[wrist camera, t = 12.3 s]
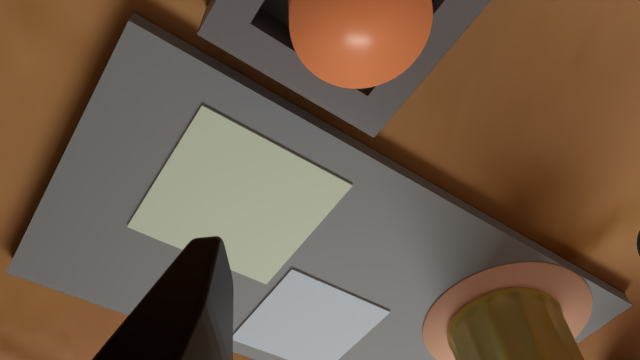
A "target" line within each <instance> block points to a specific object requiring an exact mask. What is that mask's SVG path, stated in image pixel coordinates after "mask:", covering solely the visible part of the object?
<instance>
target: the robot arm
mask: <svg viewBox="0 0 640 360" xmlns="http://www.w3.org/2000/svg"><path fill="white" fill-rule="evenodd" d="M637 249H638V253H639V256H640V231H639V234H638V237H637ZM233 298H234V289H233V278H232V273H231V269H230V265H229V261H228V257H227V253H226V249H225V245H224V242H223V240H222V238H220V237H219V236H211V237H201V238H195V239H193V240H191V241H190V242H189V243H188V244H187V245H186V247H185V248H184V249H183V250H182V251H181V253H180V254H179V255H178V256H177V257H176V259H175V260H174V261H173V262H172V264H171V265H170V266H169V267H168V268H167V270H166V271H165V272H164V273H163V274H162V276H161V277H160V278H159V279H158V280H157V282H156V283H155V284H154V285H153V286H152V288H151V289H150V290H149V291H148V293H147V294H146V295H145V296H144V297H143V299H142V300H141V301H140V302H139V303H138V305H137V306H136V307H135V308H134V309H133V311H132V312H131V313H130V314H129V315H128V317H127V318H126V319H125V320H124V322H123V323H122V324H121V325H120V326H119V328H118V329H117V330H116V331H115V332H114V334H113V335H112V336H111V337H110V338H109V340H108V341H107V342H106V343H105V344H104V346H103V347H102V348H101V349H100V351H99V352H98V353H97V354H96V355H95V357H94V358H93V359H92V360H233Z"/></svg>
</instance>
